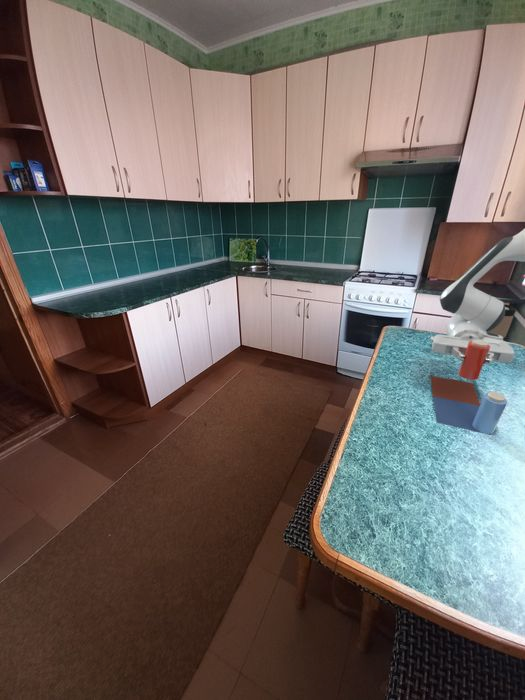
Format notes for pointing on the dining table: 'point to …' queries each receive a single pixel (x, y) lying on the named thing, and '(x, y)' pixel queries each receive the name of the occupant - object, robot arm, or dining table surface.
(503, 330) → the travel mug
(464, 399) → the sorting mat
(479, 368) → the cylinder
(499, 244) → the robot arm
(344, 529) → the dining table surface
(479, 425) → the blue shaker
